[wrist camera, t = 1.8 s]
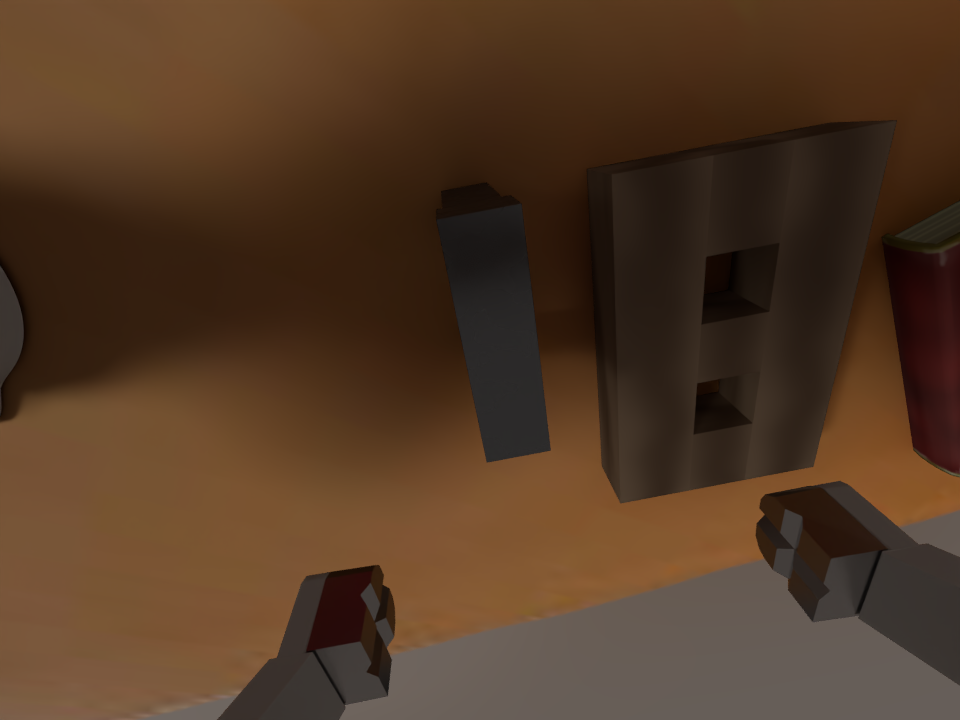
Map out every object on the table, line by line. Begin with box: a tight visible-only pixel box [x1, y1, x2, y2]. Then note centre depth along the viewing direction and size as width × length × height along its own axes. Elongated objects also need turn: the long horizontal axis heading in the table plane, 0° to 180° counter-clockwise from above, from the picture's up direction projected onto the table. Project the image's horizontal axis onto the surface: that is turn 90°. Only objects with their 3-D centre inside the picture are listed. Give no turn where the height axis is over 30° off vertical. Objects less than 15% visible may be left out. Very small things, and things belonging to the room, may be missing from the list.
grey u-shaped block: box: [436, 183, 551, 462], centre depth 22 cm, size 3×11×10 cm, turn 10°
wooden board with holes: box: [587, 120, 897, 503], centre depth 28 cm, size 14×22×4 cm, turn 10°
